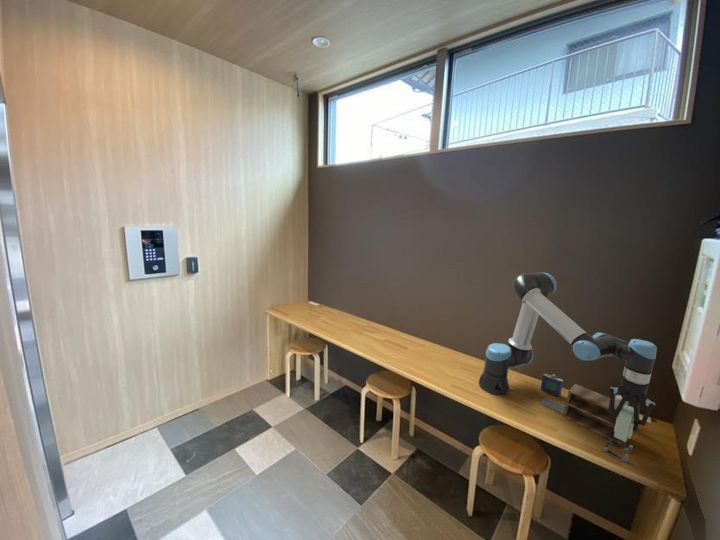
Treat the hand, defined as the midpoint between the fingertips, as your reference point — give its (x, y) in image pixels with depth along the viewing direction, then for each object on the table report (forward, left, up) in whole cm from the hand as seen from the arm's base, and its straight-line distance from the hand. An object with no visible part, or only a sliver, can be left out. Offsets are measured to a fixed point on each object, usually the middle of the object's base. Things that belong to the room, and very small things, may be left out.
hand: (622, 433), depth 117 cm
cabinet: (-10, +10, -9) cm, 17 cm away
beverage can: (-5, +24, -9) cm, 26 cm away
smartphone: (-25, +11, -9) cm, 29 cm away
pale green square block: (0, 0, 0) cm, 0 cm away
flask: (-33, +22, -9) cm, 40 cm away
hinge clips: (0, 0, -9) cm, 9 cm away
